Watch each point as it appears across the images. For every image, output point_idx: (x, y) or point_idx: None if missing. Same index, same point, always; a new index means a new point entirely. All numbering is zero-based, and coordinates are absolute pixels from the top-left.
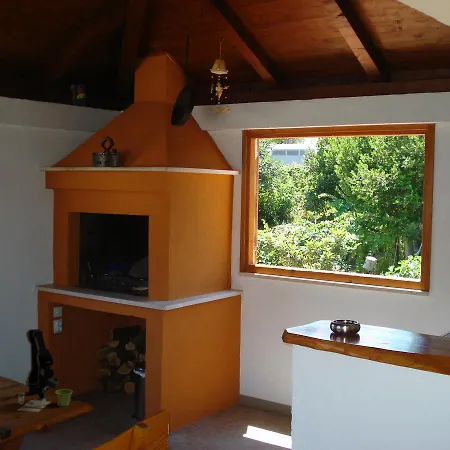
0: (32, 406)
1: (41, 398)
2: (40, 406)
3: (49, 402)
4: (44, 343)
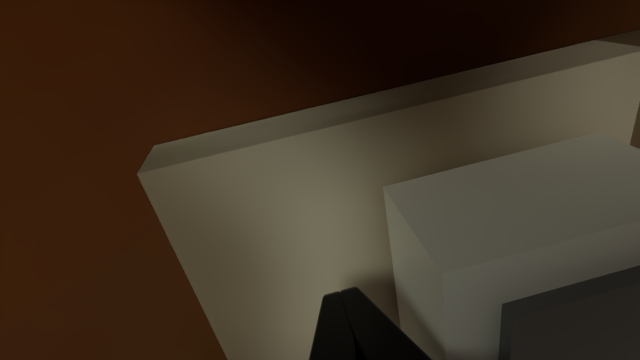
0: None
1: (521, 353)
2: None
3: (223, 172)
4: None
